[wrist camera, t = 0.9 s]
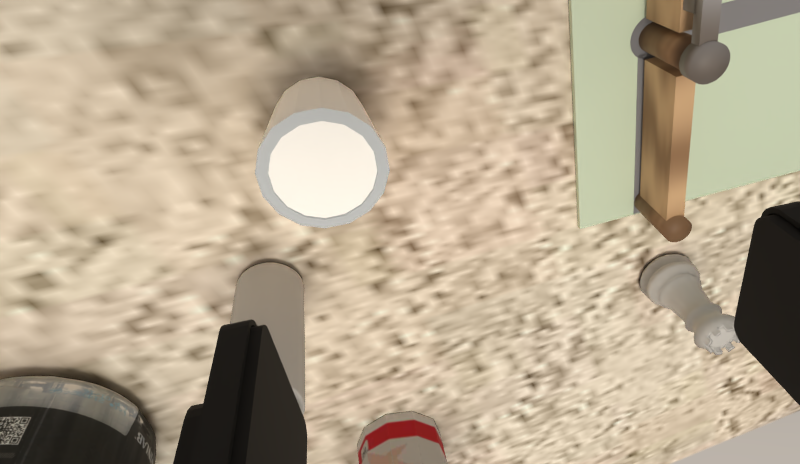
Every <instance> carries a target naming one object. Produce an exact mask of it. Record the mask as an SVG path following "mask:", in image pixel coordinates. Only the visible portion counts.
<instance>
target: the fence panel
mask: <svg viewBox="0 0 800 464" xmlns="http://www.w3.org/2000/svg"><path fill="white" fill-rule="evenodd" d="M721 6H722V0H647V9H646V19H648V20H650V21H653V22H655V23H657V24H660V25H662V26H664V27H667V28H669V29H671V30H674V31H676V32H678V33H681V32H684V31H688V30H692V40H691V44H689V45H688V46H687V47H686V49H685V50H684V51H683V53H682V55H681V57H680V61H679V69H680V72H681V74H682V75H683V76H684V77H686V78H688V79H690V80H692V81H693V82H695V83H697V84H702V85H704V84H709V83H712V82H714V81H716V80H717V79H718V78H719V77H721V76H722V75H723V73H724V72H725V71H726V69H727V67H728V65H729V62H730V51H729V49H728V47H727V46H726V45H725V44H723V43H720V42H718V34H719V24H720V15H721Z"/></svg>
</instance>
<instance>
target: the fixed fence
mask: <svg viewBox="0 0 800 464" xmlns="http://www.w3.org/2000/svg"><path fill="white" fill-rule="evenodd" d="M691 40H692V35H690V34H688V33H685V32H681V33H678V32H676V31H674V30H671V29H669V28H667V27H664V26H662V25H660V24H657V23H655V22H652V23H650V24H648V25H647V26H645V27H644V29H643V30H642V31H641V33H640V36H639V46H640V48H641V49H642V50H643V51H645V52H647V53H649V54H651V55H653V56H655V57H653V58H649V59H646V60H645V67H644V96H643V125H642V154H641V183H640V193H639V194H638V195H637V196H636V198H635V200H634V206H635V207H636V209H637V210H638V211H639V212H640V213H641V214H642V215H643V216H644V217H645V218H646V219H647V220H648V221H649V222H650V223H651V224H652V225H653V226H654V227H655V228H656V229H657V230H658V231H659V232H660V233H661V234H662V235H663V236H664V237H665V238H666V239H667V240H668V241H670V242H678V241H681V240H683V239H684V238H686V237H687V236H688V235H689V233H690V231H691V228H692V225H691V222H690V221H689V220H687V219H686V218H685V217H684V209H685V197H686V186H687V175H688V164H689V152H690V141H691V130H692V119H693V107H694V96H695V85H696V83H695V82H693V81H692V80H690V79H688V78H686V77H684V76H683V75H682V74H681V72H680V69H679V61H680V57H681V55H682V53H683V51H684V50H685V49H686V47H687V46H688V45H689V44H691Z"/></svg>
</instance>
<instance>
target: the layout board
mask: <svg viewBox="0 0 800 464" xmlns="http://www.w3.org/2000/svg"><path fill="white" fill-rule="evenodd" d="M568 1H569V25H570V49H571V73H572V98H573V122H574V146H575V170H576V194H577V219H578V227H579V228H580V229H582V228H586V227H589V226H593V225H597V224H601V223H604V222H608V221H612V220H616V219H620V218H623V217H627V216H631V215H635V214H638V213H640V212H639V211H638V210H637V209H636V207H635V206H634V200H635V198H636V196H637V195H638V194H639V193H640V183H641V154H642V125H643V96H644V67H645V60H646V59H649V58H653V57H655V56H653V55H651V54H649V53H647V52H645V51H643V50H642V49H641V48H640V46H639V36H640V33H641V31H642V30H643V29H644V27H645V26H647V25H648V24H650V23H652V22H653V21H650V20H648V19H646V9H647V0H568ZM684 32H685V33H688V34H690V35H692V30H688V31H684ZM718 42H720V43H723V44H725V45H726V46H727V47H728V49H729V51H730V62H729V65H728V67H727V69H726V71H725V72H724V73H723V75H722V76H721V77H719V78H718V79H717V80H716V81H714V82H712V83H709V84H704V85H702V84H697V83H696V85H695V96H694V107H693V119H692V130H691V141H690V152H689V164H688V175H687V186H686V197H685V201H687V200H691V199H695V198H699V197H702V196H706V195H710V194H714V193H718V192H721V191H725V190H729V189H733V188H736V187H740V186H744V185H748V184H751V183H755V182H759V181H763V180H766V179H770V178H774V177H778V176H782V175H785V174H789V173H793V172H797V171H800V0H722V6H721V15H720V24H719V34H718Z"/></svg>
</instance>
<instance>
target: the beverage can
mask: <svg viewBox="0 0 800 464" xmlns="http://www.w3.org/2000/svg"><path fill="white" fill-rule="evenodd" d="M250 319H252V320H254V321H255V322H256V324H257V326H260V325H266V326H267V327H268V329H269V332H270V334H271V337H272V339H273V342H274V344H275V347H276V349H277V352H278V354H279V357H280V359H281V362H282V364H283V367H284V369H285V372H286V374H287V377H288V379H289V382H290V384H291V387H292V389H293V392H294V394H295V397H296V399H297V402H298V404H299V407H300V409H301V412H302V414H304V411H305V330H304V285H303V281H302V279H301V277H300V276H299V274H298V273H297V272H296V271H294V270H293V269H292V268H290V267H288V266H286V265H283V264H279V263H269V262H267V263H261V264H257V265H255V266H253V267H250V268H249V269H247V270H246V271H245V272H244V273H243V274H242V275H241V276H240V278H239V279H238V282H237V285H236V290H235V296H234V302H233V309H232V315H231V321H230V324H232V323H236V322H241V321H246V320H250Z"/></svg>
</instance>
